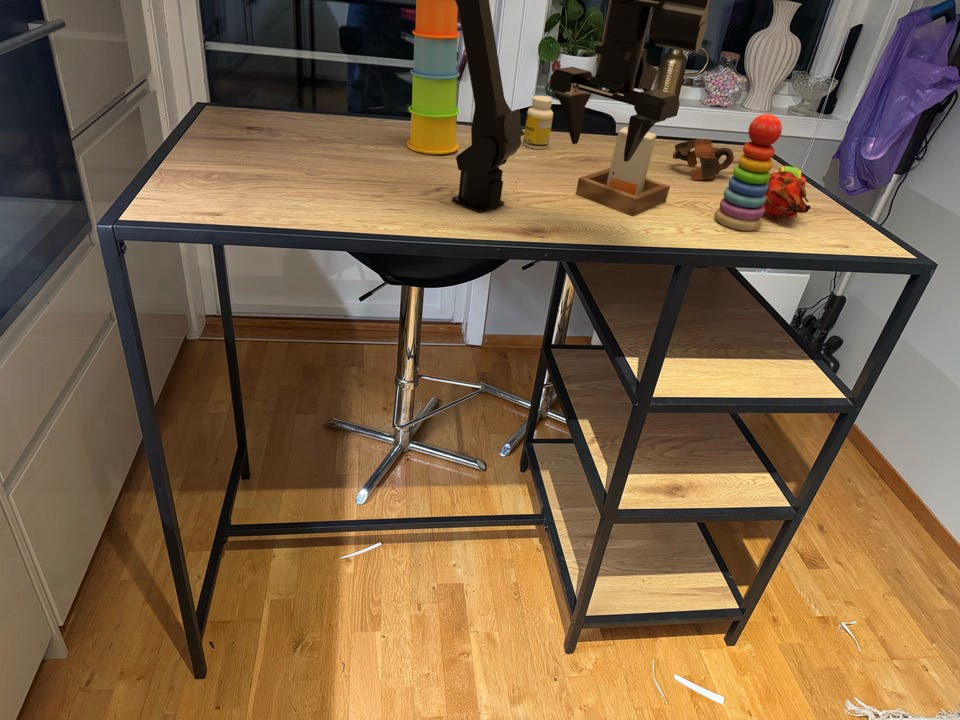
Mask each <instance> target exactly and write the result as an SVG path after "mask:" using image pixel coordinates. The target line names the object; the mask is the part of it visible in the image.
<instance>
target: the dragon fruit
mask: <svg viewBox="0 0 960 720" xmlns="http://www.w3.org/2000/svg"><path fill="white" fill-rule="evenodd" d="M775 172H776V173H773V172H772V173H773V174H771V173H770V179H769V180H768V181H767V182H766V183H767V185H768V190H767V192H766V193H765V194H764V195H765V197H766V201H765V203H764V204H763V207H764V210H765V211H764V213H765V214H766V215H767V217H768V218H769V220H770V219H771V220H772V221H774V222H778V223H779V222H781V221H780V219H779V218H780V217H783V218H788V219H789V220H792V219H795V218H797V217H798V214H804V213H808V212H809V210H810V209H811V207H812V206H811V205H810V204H808V205H807V203H809V202H810V201H809V200H808V199H807V190H806V189H805V188H803V187H802V186H803V185H804V181H803V180H802V179H799V178H797V177H796V176H795V174H794V173H792V172H788V171H779V172H778V171H775ZM803 199H804V200H805V201H806V202H807V203H806V202H805V201H804V200H803Z"/></svg>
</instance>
